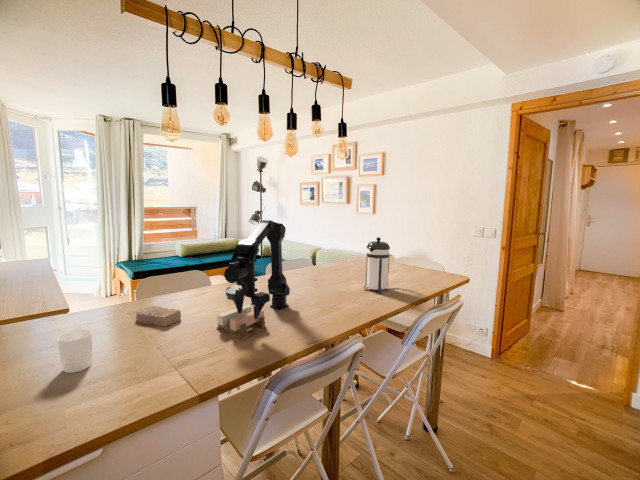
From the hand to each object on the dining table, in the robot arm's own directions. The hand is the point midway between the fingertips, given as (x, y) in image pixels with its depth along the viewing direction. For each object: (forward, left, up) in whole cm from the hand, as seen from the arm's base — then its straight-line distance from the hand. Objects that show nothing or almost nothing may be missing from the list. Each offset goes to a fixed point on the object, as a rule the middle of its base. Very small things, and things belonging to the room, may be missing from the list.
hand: (247, 316), depth 115 cm
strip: (0, -7, -3) cm, 8 cm away
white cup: (+47, -21, -6) cm, 52 cm away
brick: (+16, -37, -7) cm, 41 cm away
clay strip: (0, 0, -3) cm, 3 cm away
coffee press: (-82, +15, -6) cm, 83 cm away
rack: (0, -4, -6) cm, 7 cm away
